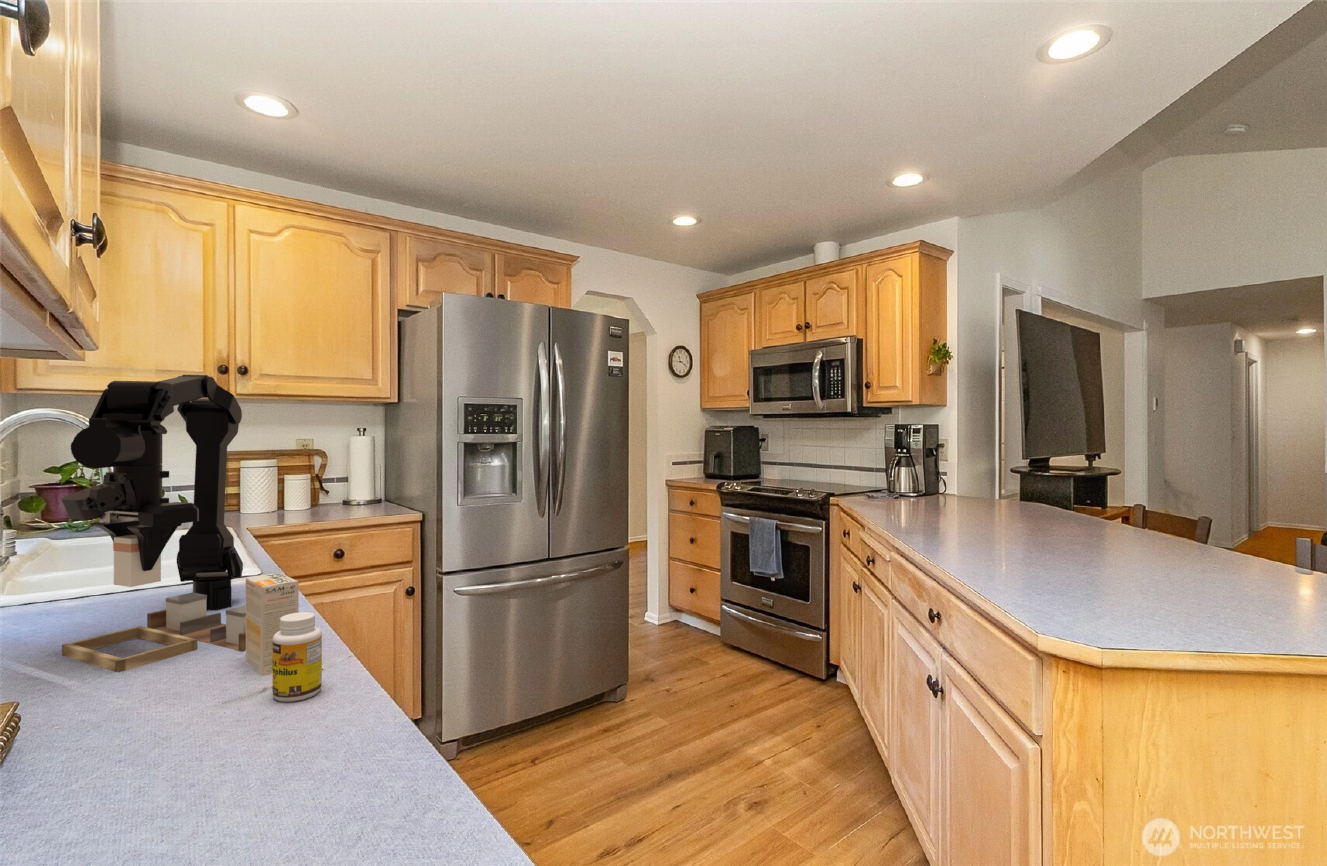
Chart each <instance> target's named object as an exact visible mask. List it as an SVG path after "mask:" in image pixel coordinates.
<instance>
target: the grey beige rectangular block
mask: <svg viewBox="0 0 1327 866" xmlns="http://www.w3.org/2000/svg"><path fill="white" fill-rule="evenodd" d="M206 599H207V595H203V594H198V593H193V591H192V592H189V593H184V594H183V593H182V594H179V595H174V596H169V597H165V609H166V628H168V629H173V630H177V631H180V622H183V621H187V620H191V619H195V618H199V617H203V616H207V610H206Z"/></svg>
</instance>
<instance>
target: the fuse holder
mask: <svg viewBox="0 0 1327 866" xmlns="http://www.w3.org/2000/svg"><path fill="white" fill-rule="evenodd" d="M146 615H147V616H146V617H147V619H146V627H147V628H151V629H156V630H160V631H164V632H168V633H172V634H177V635H181V636H185V637H189V638H193V639H197V642H201V643H205V644H209V645H214V646H218V647H222V648H226V649H230V650H234V651H238V652H242V653H243V652H246V632H243V633H240V634H239V645H237V644H233V643H228V642H226V623H222V613H221V612H214V613H212V614H206V616H203V617H199V618H195V619H191V620H187V621H183V622H180V631H177V630H173V629H168V628H166V608H165V609H161V610H158V611H157V610H155V611H152V612H147V614H146Z"/></svg>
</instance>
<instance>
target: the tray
mask: <svg viewBox="0 0 1327 866" xmlns="http://www.w3.org/2000/svg"><path fill="white" fill-rule="evenodd" d="M134 639H135V640H136V639H142V640H146V641H150V642H154V643H157V644H161V645H165V646H163V647H158V648H156V649H152V650H148V651H144V652H141V653H137V654H133V655H130V656H129V655H128V656H126V657H119V656H115V655H112V654H108V653H104V652H101V651H97V650H95V649H100V648H103V647H107V646H111V645H115V644H119V643H123V642H126V641H130V640H134ZM194 651H198V641H197V639H193V638H189V637H185V636H181V635H177V634H172V633H168V632H164V631H160V630H156V629H151V628H147V626H142V625H140V626H135V627H131V628H126V629H123V630H119V631H118V630H117V631H115V632H114V631H113V632H110V633H105V634H103V635H98V636H93V637H90V638H86V639H81V640H77V641H73V642H70V643H65V644H61V656H63V657H65V658H69V659H73V660H76V661H79V662H82V663H86V664H89V665H92V666H96V667H99V668H103V669H106V670H109V671H114V673H115V672H116V673H121V672H125V671H128V670H131V669H132V670H133V669H135V668H138V667H141V666H146V665H149V664H152V663H156V662H159V661H163V660H166V659H170V658H173V657H177V656H179V655H180V656H181V655H184V654H187V653H190V652H194Z"/></svg>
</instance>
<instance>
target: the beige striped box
mask: <svg viewBox="0 0 1327 866" xmlns="http://www.w3.org/2000/svg"><path fill="white" fill-rule="evenodd" d="M112 549H113V585H114V586H120V587H126V588H127V587H128V588H133V587H138V586H145V585H149V584H154V583H158V582H162V553H161V554H160V556H159V558H158V560H157V561H156V563H155V565H154V567H153V568H152V570H149V571H143V570H142V566H141V561H140V553H139V545H138V537H137V536H136V535H127V536H120V537H114V543H112Z"/></svg>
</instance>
